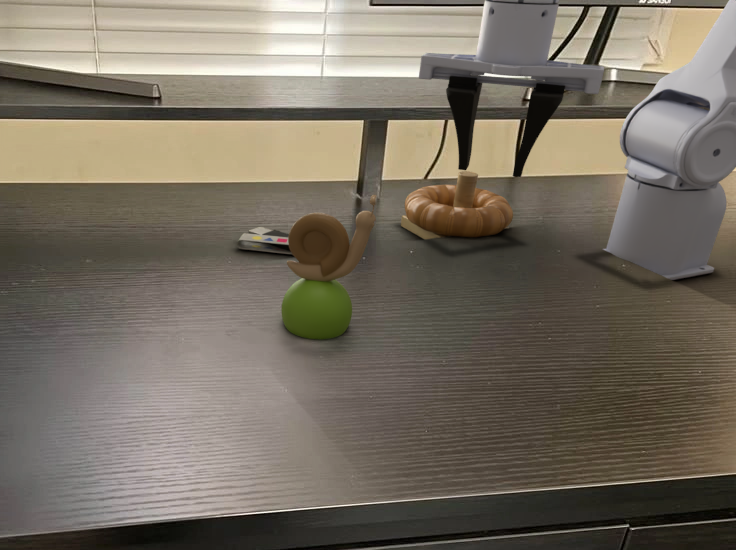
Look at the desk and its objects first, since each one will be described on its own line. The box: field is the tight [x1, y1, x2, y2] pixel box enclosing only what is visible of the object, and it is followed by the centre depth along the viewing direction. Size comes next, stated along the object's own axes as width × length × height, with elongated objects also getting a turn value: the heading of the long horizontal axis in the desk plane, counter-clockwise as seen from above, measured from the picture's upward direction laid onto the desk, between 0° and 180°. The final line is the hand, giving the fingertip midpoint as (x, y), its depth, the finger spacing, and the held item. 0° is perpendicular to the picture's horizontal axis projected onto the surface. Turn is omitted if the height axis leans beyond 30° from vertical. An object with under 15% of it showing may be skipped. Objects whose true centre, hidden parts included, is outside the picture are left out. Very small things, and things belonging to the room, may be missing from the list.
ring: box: [404, 184, 514, 238], centre depth 80 cm, size 11×11×3 cm
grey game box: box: [236, 226, 293, 255], centre depth 75 cm, size 9×5×1 cm, turn 49°
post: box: [400, 170, 510, 240], centre depth 80 cm, size 9×9×7 cm
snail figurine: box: [280, 194, 378, 340], centre depth 55 cm, size 5×6×12 cm
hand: (490, 170), depth 66 cm, fingers open, 4 cm apart
